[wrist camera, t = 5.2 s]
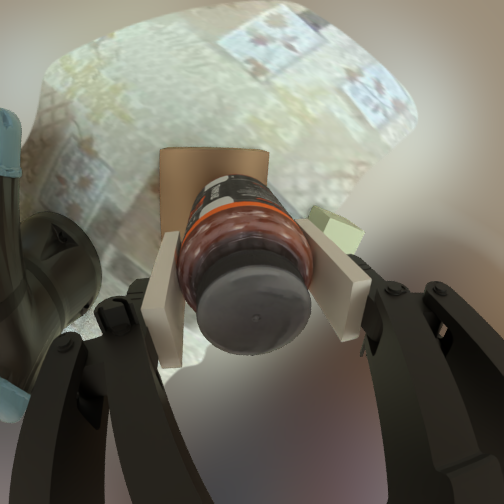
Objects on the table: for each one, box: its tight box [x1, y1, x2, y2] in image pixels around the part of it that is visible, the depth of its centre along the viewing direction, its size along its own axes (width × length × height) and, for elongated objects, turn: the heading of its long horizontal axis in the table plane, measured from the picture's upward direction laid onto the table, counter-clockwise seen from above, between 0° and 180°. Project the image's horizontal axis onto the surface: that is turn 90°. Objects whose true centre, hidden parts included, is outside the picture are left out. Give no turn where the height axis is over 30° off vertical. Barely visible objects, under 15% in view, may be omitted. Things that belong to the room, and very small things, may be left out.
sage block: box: [308, 205, 365, 255], centre depth 31 cm, size 5×5×5 cm
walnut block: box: [160, 147, 269, 244], centre depth 27 cm, size 10×10×5 cm
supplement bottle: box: [177, 174, 313, 356], centre depth 14 cm, size 6×6×11 cm
